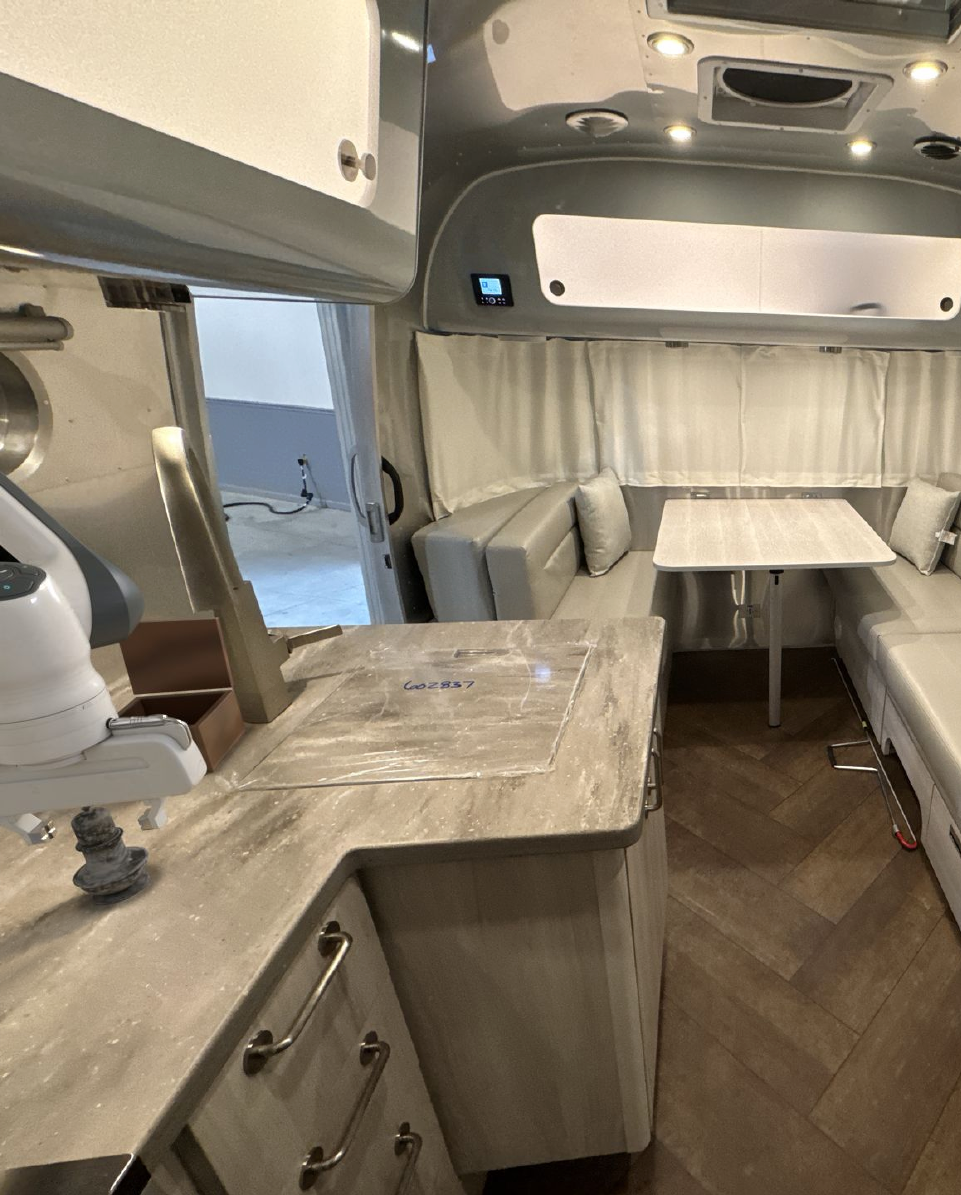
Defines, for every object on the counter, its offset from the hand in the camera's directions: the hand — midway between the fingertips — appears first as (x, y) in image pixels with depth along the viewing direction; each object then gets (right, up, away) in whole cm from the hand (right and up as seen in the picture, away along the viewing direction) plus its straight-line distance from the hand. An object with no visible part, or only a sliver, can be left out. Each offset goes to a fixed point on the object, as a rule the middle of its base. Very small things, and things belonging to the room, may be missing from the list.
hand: (100, 833), depth 68 cm
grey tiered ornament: (-1, -8, +3) cm, 8 cm away
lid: (-15, +17, +23) cm, 32 cm away
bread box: (-14, +2, +24) cm, 28 cm away
